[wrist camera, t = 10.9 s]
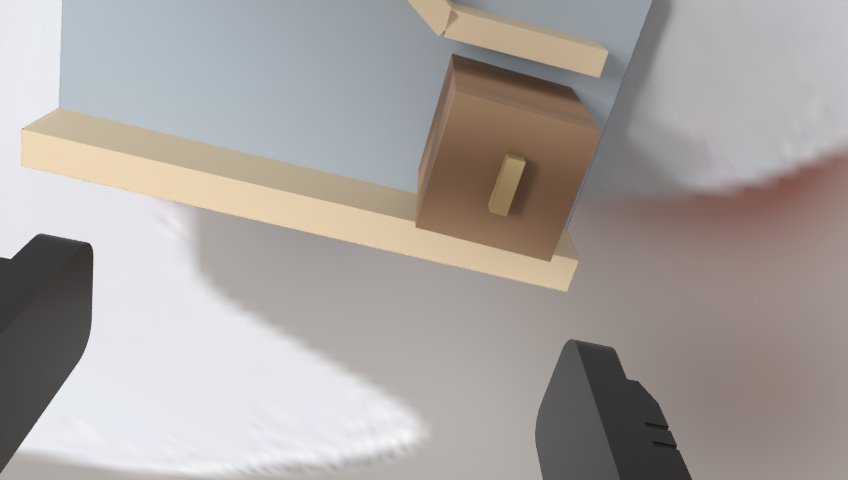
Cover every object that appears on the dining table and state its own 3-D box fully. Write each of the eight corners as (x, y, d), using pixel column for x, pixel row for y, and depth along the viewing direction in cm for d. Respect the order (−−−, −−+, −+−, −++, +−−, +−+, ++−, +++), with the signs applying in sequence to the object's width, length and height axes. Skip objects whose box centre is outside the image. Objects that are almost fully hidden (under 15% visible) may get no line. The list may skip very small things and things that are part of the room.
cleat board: (83, -175, 26) (23, -186, 23) (649, -18, 28) (682, -4, 25) (70, 133, 31) (20, 165, 28) (552, 246, 33) (566, 291, 30)
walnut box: (452, 53, 28) (456, 95, 23) (570, 87, 29) (606, 137, 23) (418, 168, 31) (414, 234, 25) (530, 197, 31) (552, 270, 25)
